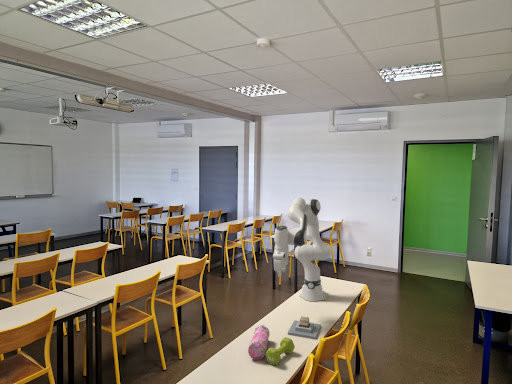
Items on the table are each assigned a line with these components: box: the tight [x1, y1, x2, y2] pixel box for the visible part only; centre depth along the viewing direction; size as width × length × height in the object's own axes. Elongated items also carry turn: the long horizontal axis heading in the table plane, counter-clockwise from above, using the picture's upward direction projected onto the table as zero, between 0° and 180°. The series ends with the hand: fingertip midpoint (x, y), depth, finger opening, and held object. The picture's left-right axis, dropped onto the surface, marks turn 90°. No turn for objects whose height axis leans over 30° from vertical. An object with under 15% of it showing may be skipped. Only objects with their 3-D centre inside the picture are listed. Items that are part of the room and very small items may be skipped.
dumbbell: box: [265, 336, 295, 366], centre depth 161 cm, size 16×8×7 cm, turn 141°
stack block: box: [299, 315, 310, 328], centre depth 189 cm, size 4×4×6 cm
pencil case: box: [247, 324, 270, 361], centre depth 169 cm, size 21×9×9 cm, turn 170°
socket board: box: [287, 320, 322, 340], centre depth 189 cm, size 16×16×3 cm
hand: (281, 274), depth 202 cm, fingers open, 8 cm apart
